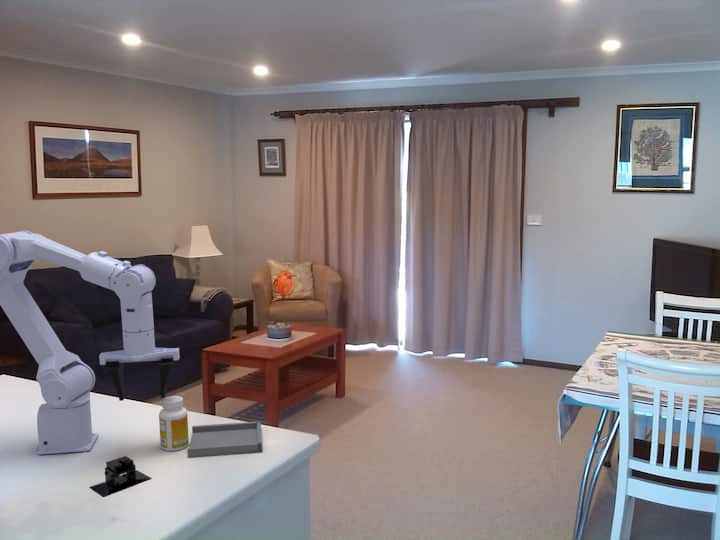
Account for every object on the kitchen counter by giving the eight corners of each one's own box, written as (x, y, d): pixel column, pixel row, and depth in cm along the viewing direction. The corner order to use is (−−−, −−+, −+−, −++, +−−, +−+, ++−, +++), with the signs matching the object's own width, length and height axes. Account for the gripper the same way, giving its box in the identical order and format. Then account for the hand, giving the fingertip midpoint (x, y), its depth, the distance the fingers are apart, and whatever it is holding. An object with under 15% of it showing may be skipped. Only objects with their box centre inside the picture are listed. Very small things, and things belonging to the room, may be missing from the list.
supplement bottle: (192, 441, 133) (190, 394, 131) (183, 452, 127) (180, 404, 126) (166, 440, 133) (164, 394, 132) (156, 451, 128) (153, 403, 126)
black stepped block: (96, 505, 108) (94, 479, 107) (76, 491, 113) (74, 466, 112) (163, 479, 117) (162, 455, 116) (142, 467, 122) (141, 444, 121)
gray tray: (187, 457, 125) (187, 449, 125) (192, 433, 137) (192, 425, 136) (262, 451, 127) (261, 444, 127) (260, 428, 139) (260, 421, 139)
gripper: (93, 336, 121) (99, 407, 123) (175, 331, 123) (179, 401, 125) (101, 327, 128) (106, 395, 129) (178, 323, 130) (182, 389, 132)
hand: (142, 397), depth 128 cm, fingers open, 7 cm apart
